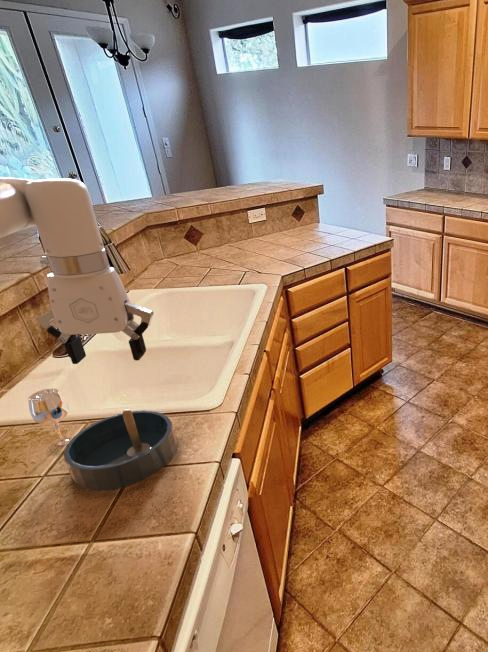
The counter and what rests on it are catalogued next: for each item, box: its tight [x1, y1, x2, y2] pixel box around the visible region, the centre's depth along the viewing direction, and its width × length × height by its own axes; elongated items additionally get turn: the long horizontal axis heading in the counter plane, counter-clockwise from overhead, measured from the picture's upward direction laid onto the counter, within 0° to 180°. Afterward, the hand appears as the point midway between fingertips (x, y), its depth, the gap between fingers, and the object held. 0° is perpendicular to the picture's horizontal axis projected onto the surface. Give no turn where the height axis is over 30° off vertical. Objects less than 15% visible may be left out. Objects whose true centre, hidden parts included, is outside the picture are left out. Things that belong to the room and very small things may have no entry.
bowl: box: [63, 409, 178, 492], centre depth 83 cm, size 18×18×6 cm
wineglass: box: [28, 388, 70, 446], centre depth 85 cm, size 6×6×12 cm
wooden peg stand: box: [121, 408, 151, 459], centre depth 82 cm, size 4×4×11 cm
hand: (110, 358), depth 75 cm, fingers open, 9 cm apart
